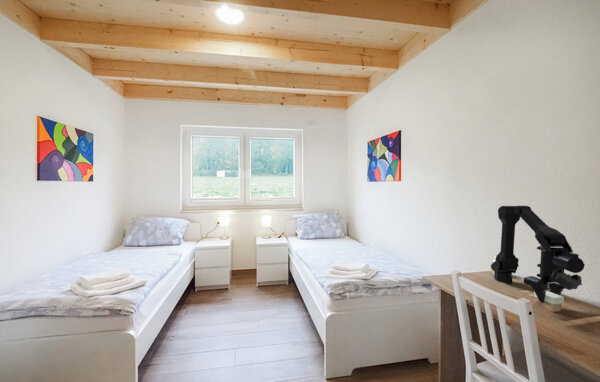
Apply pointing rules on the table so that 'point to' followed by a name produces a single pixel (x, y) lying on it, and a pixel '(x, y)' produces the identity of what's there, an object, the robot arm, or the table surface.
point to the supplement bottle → (492, 263)
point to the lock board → (544, 305)
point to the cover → (552, 298)
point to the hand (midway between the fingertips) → (548, 301)
